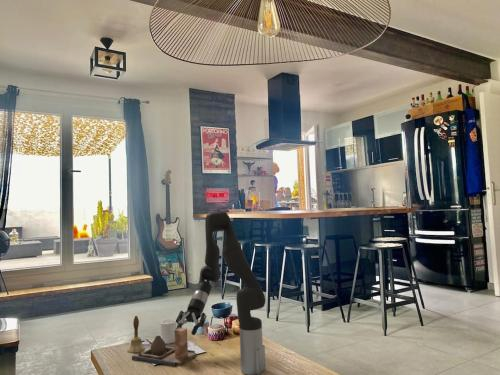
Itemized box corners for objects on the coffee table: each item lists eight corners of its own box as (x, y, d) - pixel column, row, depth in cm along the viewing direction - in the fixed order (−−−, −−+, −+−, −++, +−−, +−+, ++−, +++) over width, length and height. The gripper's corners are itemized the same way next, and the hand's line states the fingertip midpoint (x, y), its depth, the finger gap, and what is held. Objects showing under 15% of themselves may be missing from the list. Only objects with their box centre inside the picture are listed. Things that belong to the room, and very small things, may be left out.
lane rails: (194, 354, 175) (194, 350, 175) (175, 366, 161) (174, 362, 161) (153, 348, 185) (153, 345, 185) (131, 359, 172) (131, 356, 172)
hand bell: (133, 346, 189) (132, 313, 190) (148, 347, 187) (147, 314, 188) (123, 352, 181) (123, 318, 182) (139, 353, 179) (138, 319, 180)
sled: (196, 355, 173) (195, 326, 174) (181, 365, 162) (180, 334, 163) (156, 349, 183) (156, 322, 183) (139, 358, 172) (138, 329, 173)
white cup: (158, 343, 192) (157, 323, 192) (165, 338, 199) (165, 319, 200) (171, 344, 189) (171, 324, 190) (179, 339, 197) (178, 319, 198)
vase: (162, 359, 170) (161, 339, 171) (148, 358, 172) (147, 338, 172) (168, 353, 177) (168, 334, 178) (154, 353, 179) (154, 334, 179)
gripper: (182, 296, 184) (168, 327, 173) (207, 298, 178) (194, 330, 167) (189, 305, 189) (175, 336, 178) (213, 307, 183) (201, 339, 172)
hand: (184, 333), depth 172 cm, fingers open, 8 cm apart
